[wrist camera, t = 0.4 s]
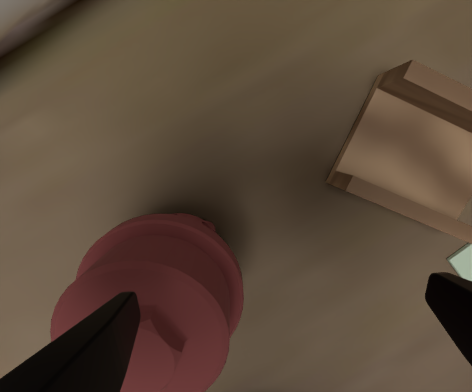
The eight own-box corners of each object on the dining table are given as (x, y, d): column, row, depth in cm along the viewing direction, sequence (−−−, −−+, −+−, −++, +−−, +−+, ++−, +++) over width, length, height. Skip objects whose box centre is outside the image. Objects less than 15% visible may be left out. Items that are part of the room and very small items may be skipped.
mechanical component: (106, 234, 22) (193, 168, 21) (177, 311, 24) (260, 254, 23) (-43, 344, 10) (143, 203, 9) (122, 483, 12) (293, 380, 11)
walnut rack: (440, 230, 23) (481, 247, 19) (325, 182, 21) (345, 190, 18) (500, 134, 21) (558, 132, 17) (378, 75, 20) (412, 59, 16)
